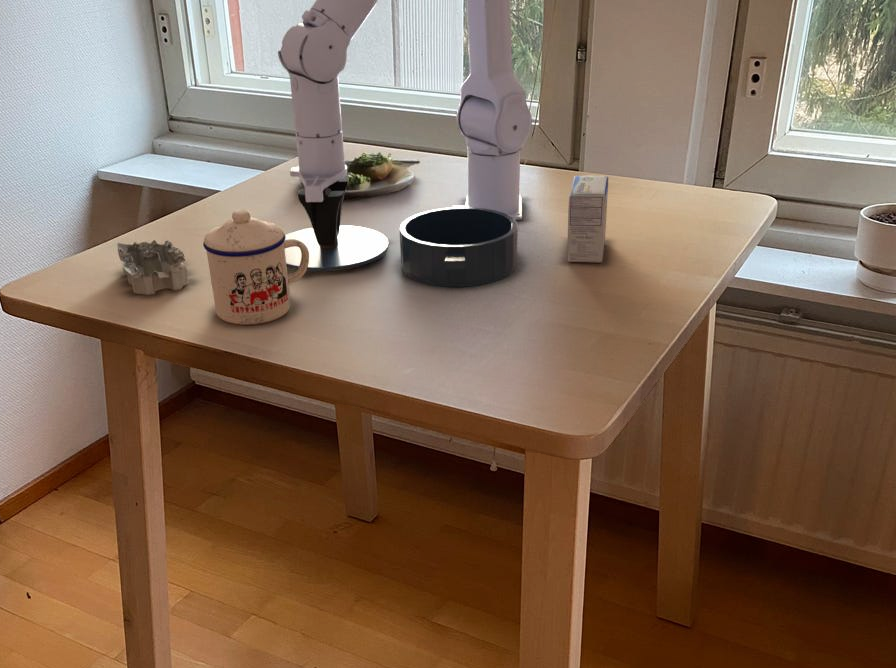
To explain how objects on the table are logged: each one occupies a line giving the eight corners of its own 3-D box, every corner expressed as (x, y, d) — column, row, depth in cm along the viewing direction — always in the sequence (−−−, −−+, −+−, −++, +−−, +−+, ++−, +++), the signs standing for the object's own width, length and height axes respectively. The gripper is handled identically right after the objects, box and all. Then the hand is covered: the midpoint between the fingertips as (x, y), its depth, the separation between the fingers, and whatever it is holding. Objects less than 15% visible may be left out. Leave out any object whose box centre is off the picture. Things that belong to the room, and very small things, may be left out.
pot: (394, 296, 118) (392, 255, 116) (408, 237, 135) (407, 201, 132) (517, 295, 117) (517, 254, 114) (516, 236, 134) (517, 199, 131)
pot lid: (259, 276, 125) (254, 241, 123) (282, 233, 138) (279, 201, 135) (382, 275, 124) (380, 240, 121) (394, 232, 137) (392, 199, 134)
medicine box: (602, 264, 124) (606, 194, 120) (565, 262, 125) (568, 193, 120) (605, 241, 131) (609, 175, 126) (570, 240, 132) (573, 174, 127)
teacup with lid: (231, 333, 111) (215, 231, 105) (203, 306, 118) (187, 208, 112) (328, 308, 116) (319, 209, 110) (296, 283, 123) (286, 189, 117)
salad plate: (403, 159, 166) (402, 130, 164) (442, 188, 152) (441, 158, 150) (289, 175, 161) (286, 146, 159) (318, 207, 147) (315, 176, 144)
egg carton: (192, 289, 123) (187, 257, 121) (130, 299, 121) (123, 267, 119) (179, 259, 131) (173, 229, 129) (120, 269, 129) (114, 238, 127)
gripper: (297, 117, 129) (307, 221, 136) (274, 149, 117) (287, 260, 124) (351, 116, 128) (359, 220, 136) (335, 148, 116) (344, 260, 124)
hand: (328, 240), depth 130 cm, fingers closed on pot lid, 2 cm apart
